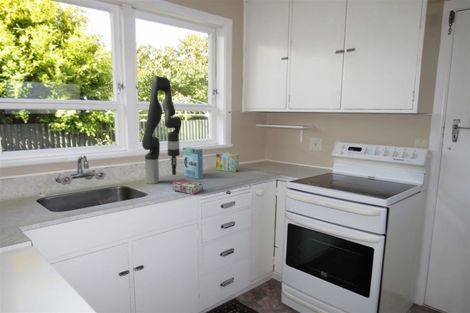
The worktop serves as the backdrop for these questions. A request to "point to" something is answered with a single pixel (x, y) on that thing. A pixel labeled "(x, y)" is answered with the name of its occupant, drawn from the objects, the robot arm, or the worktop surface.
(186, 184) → the candy bar box
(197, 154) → the gum box
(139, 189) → the worktop surface
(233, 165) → the snack box
